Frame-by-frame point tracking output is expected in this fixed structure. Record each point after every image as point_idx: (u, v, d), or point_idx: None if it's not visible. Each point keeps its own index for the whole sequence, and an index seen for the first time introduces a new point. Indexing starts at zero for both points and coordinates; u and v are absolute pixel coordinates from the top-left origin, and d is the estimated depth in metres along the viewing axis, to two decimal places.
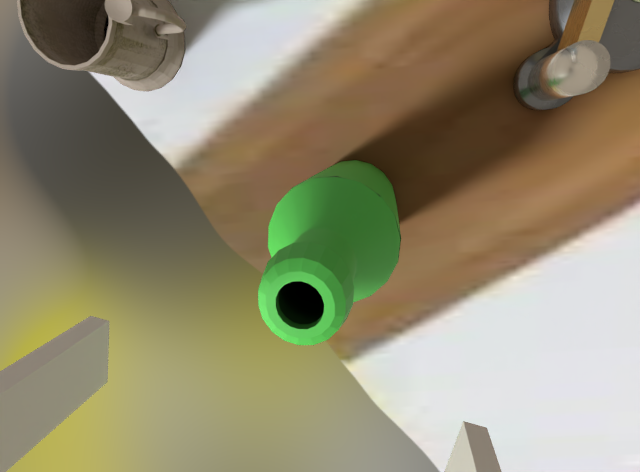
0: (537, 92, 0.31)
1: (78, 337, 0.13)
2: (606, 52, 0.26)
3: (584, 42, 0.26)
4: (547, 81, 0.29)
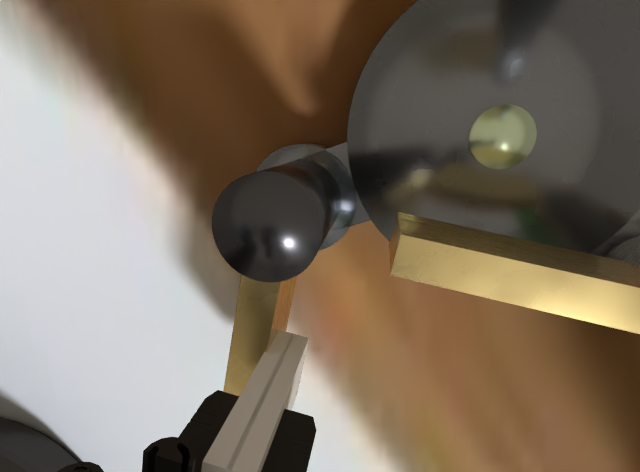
0: None
1: (282, 350, 0.14)
2: None
3: None
4: None
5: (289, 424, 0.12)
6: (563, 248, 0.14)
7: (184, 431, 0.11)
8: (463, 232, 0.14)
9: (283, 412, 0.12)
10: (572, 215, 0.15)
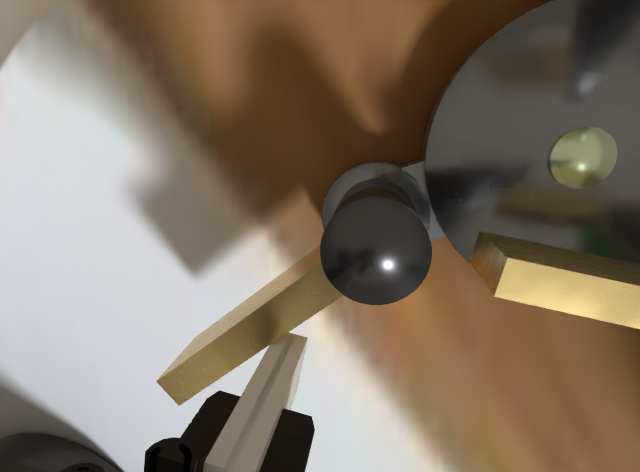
0: None
1: (283, 350, 0.14)
2: None
3: None
4: None
5: (288, 424, 0.12)
6: None
7: (186, 431, 0.11)
8: (551, 251, 0.14)
9: (282, 412, 0.12)
10: None
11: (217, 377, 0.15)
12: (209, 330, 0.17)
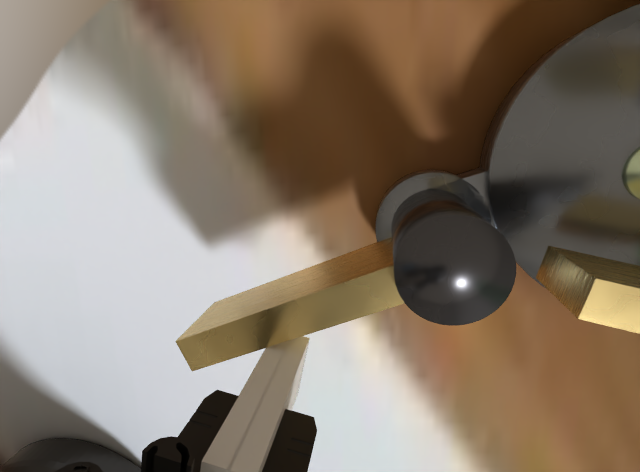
0: None
1: (281, 349, 0.14)
2: None
3: None
4: None
5: (290, 424, 0.12)
6: None
7: (183, 431, 0.11)
8: (631, 270, 0.13)
9: (284, 412, 0.12)
10: None
11: (242, 353, 0.14)
12: (235, 300, 0.17)
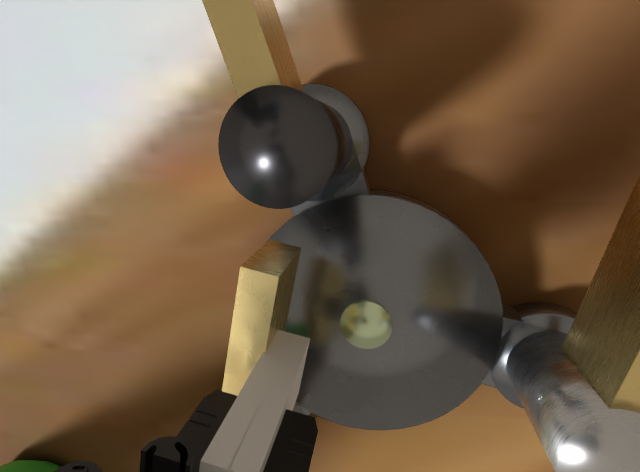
0: None
1: (281, 349, 0.14)
2: None
3: None
4: None
5: (291, 424, 0.12)
6: None
7: (182, 431, 0.11)
8: (284, 308, 0.16)
9: (285, 412, 0.12)
10: (303, 372, 0.19)
11: None
12: None
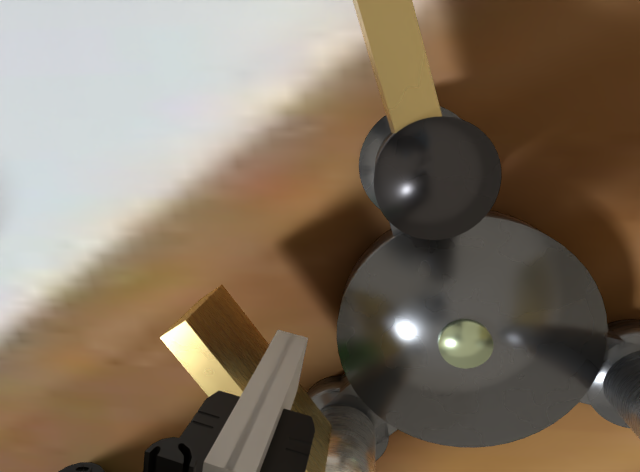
0: None
1: (283, 350, 0.14)
2: None
3: None
4: None
5: (288, 423, 0.12)
6: (301, 388, 0.18)
7: (185, 431, 0.11)
8: (244, 337, 0.17)
9: (282, 412, 0.12)
10: (394, 390, 0.19)
11: None
12: None
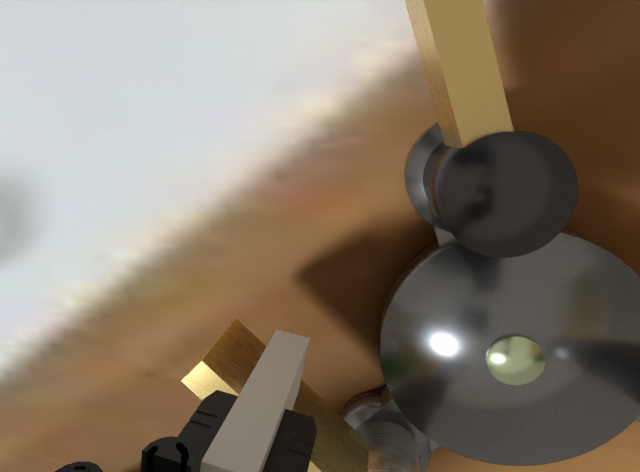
0: None
1: (281, 349, 0.14)
2: None
3: None
4: None
5: (290, 424, 0.12)
6: (331, 409, 0.18)
7: (183, 431, 0.11)
8: None
9: (284, 412, 0.12)
10: (439, 406, 0.18)
11: None
12: None
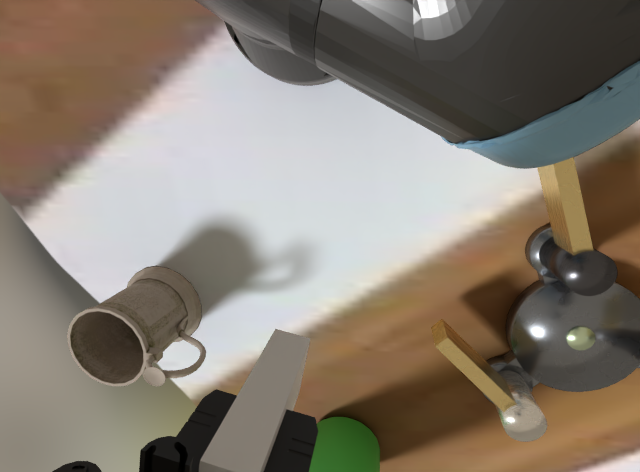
0: None
1: (280, 349, 0.14)
2: (527, 409, 0.33)
3: (508, 415, 0.34)
4: None
5: (291, 425, 0.12)
6: (487, 363, 0.37)
7: (182, 430, 0.11)
8: (461, 341, 0.36)
9: (285, 413, 0.12)
10: (540, 362, 0.37)
11: (557, 176, 0.28)
12: None
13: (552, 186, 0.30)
